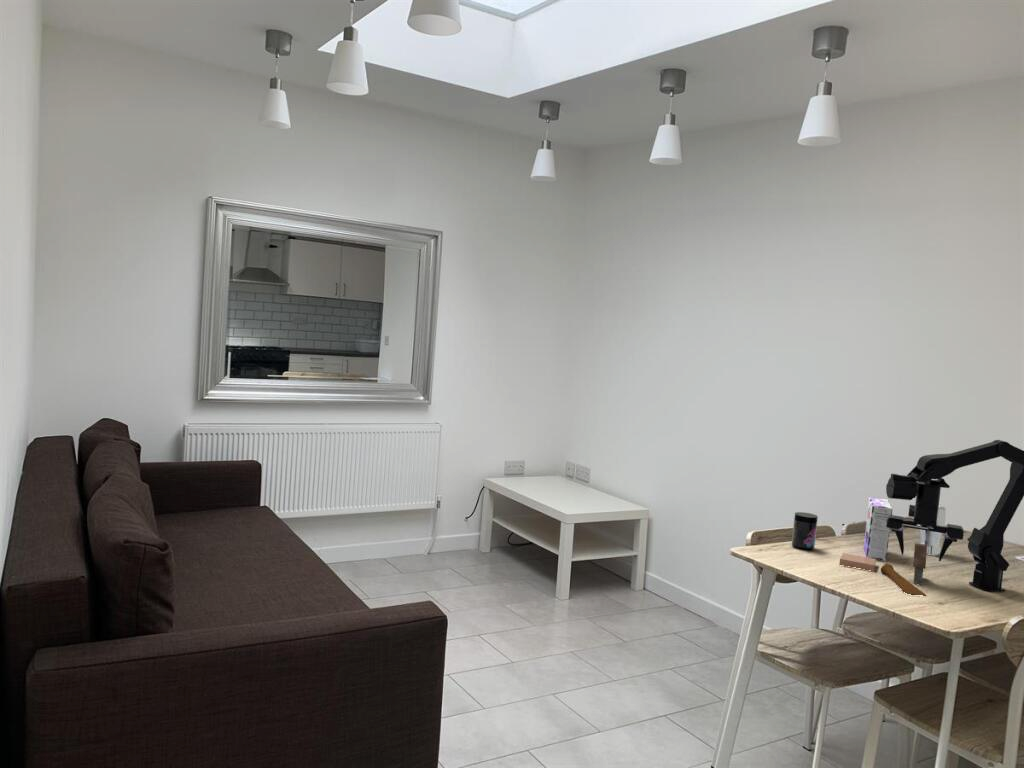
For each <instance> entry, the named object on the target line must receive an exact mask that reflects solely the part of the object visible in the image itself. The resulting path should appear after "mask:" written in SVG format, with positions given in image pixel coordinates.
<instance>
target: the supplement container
mask: <svg viewBox="0 0 1024 768" xmlns="http://www.w3.org/2000/svg"><path fill="white" fill-rule="evenodd" d="M793 519H794V520H793V529H792V539H791V546H792V547H793V548H794V549H797V550H801V551H806V552H807V551H813V550H815V545H816V544H815V543H816V535H817V528H818V527H817V525H818V519H819V516H818V515H817V514H814V513H809V512H800V511H797V512H794V518H793Z"/></svg>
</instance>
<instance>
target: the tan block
mask: <svg viewBox="0 0 1024 768" xmlns="http://www.w3.org/2000/svg"><path fill="white" fill-rule="evenodd" d="M876 563H877V560H876V559H873V558H867V557H866V556H861V555H856V554H851V553H850V554H849V553H842V554H841V556H840V558H839V564H838V565H839V566H840V565H844V566H843V567H846V566H850V567H849V568H851V567H856V568H861V569H865V570H864V571H866V570H871V571H873V570H875V568H876ZM874 567H875V568H874ZM856 568H855V569H856ZM861 569H860V570H861ZM871 571H870V572H871ZM873 572H874V571H873Z"/></svg>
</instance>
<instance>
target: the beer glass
mask: <svg viewBox="0 0 1024 768" xmlns="http://www.w3.org/2000/svg"><path fill="white" fill-rule="evenodd" d="M945 523H946V507H944V506H941V505H939V508H938V517H937V525H938V526H944V527H945V526H946V525H945ZM928 528H930V527H928ZM932 529H933V528H932ZM919 530H920V529H919ZM942 535H943V533H939V532H933V531H926V530H920V542H919V544H924V545H927V555H926V556H930V557H938V556H939V555H940V542H941V538H942Z"/></svg>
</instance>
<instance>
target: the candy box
mask: <svg viewBox="0 0 1024 768" xmlns="http://www.w3.org/2000/svg"><path fill="white" fill-rule="evenodd" d="M889 515H893V507H892V505H891V503H890V501H889V499H886V498H885V499H884V498H876V497H871V496H870V497H868V504H867V514H866V522H865V524H866V525H865V532H864V533H865V535H864V541H863V550H864V553H865V554H864V555H865V557H867V558H873V559H878V560H877V561H881V560H883V562H887V558H888V551H889V540H890V533H891V528H888V527H886V526H887V518H888V516H889Z"/></svg>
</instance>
